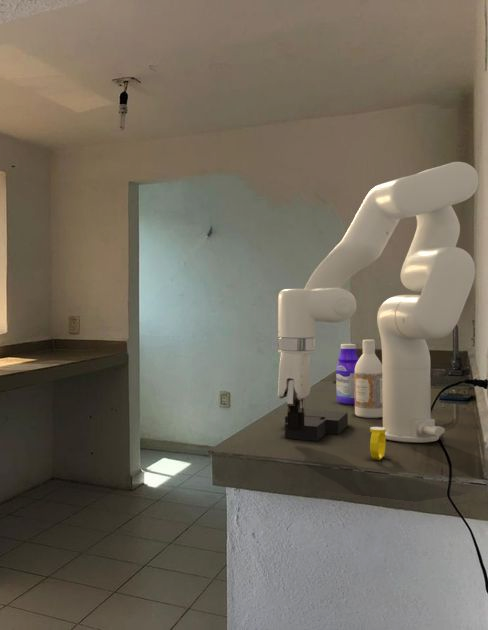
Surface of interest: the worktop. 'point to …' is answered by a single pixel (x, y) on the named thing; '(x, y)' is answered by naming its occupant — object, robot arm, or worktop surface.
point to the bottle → (346, 374)
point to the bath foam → (368, 383)
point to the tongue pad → (308, 429)
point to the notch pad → (329, 419)
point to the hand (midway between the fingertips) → (295, 429)
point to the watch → (377, 442)
